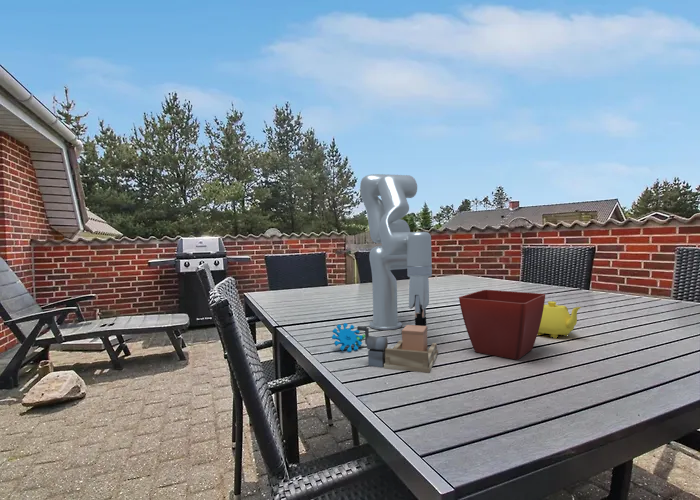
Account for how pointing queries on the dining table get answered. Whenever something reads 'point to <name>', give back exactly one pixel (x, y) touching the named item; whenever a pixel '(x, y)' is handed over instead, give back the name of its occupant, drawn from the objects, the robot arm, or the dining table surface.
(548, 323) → the teapot
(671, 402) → the dining table surface
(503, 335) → the plant pot
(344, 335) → the gear
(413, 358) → the bay
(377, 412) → the dining table surface
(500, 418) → the dining table surface
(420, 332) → the pink-tan cube
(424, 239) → the robot arm
